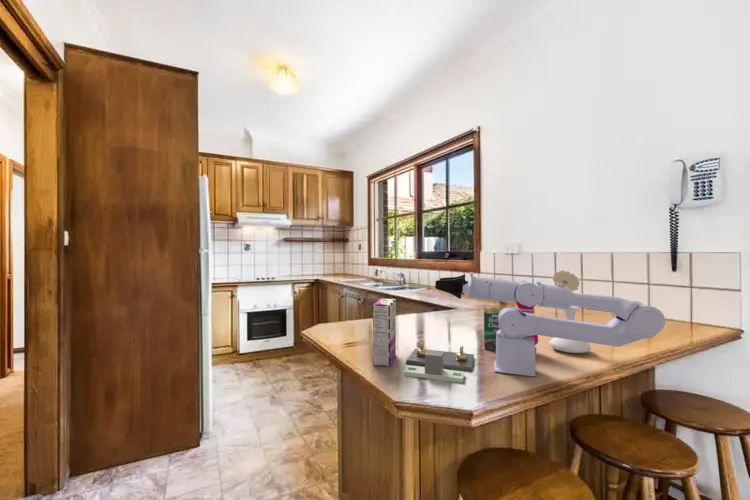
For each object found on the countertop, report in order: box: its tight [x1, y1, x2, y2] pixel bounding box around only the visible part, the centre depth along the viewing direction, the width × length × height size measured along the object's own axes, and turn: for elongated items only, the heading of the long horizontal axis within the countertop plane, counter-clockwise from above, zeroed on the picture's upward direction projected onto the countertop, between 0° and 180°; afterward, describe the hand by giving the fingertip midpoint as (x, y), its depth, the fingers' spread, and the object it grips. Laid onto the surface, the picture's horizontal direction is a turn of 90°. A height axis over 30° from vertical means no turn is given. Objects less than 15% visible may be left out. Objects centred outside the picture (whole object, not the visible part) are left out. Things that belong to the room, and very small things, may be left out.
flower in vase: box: [549, 269, 592, 354], centre depth 110 cm, size 13×11×25 cm
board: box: [403, 349, 465, 384], centre depth 86 cm, size 14×5×6 cm, turn 72°
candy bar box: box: [372, 298, 397, 367], centre depth 98 cm, size 11×5×16 cm, turn 168°
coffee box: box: [483, 306, 503, 352], centre depth 109 cm, size 8×3×13 cm, turn 61°
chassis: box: [405, 341, 475, 372], centre depth 98 cm, size 17×12×4 cm
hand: (437, 283), depth 97 cm, fingers open, 7 cm apart
